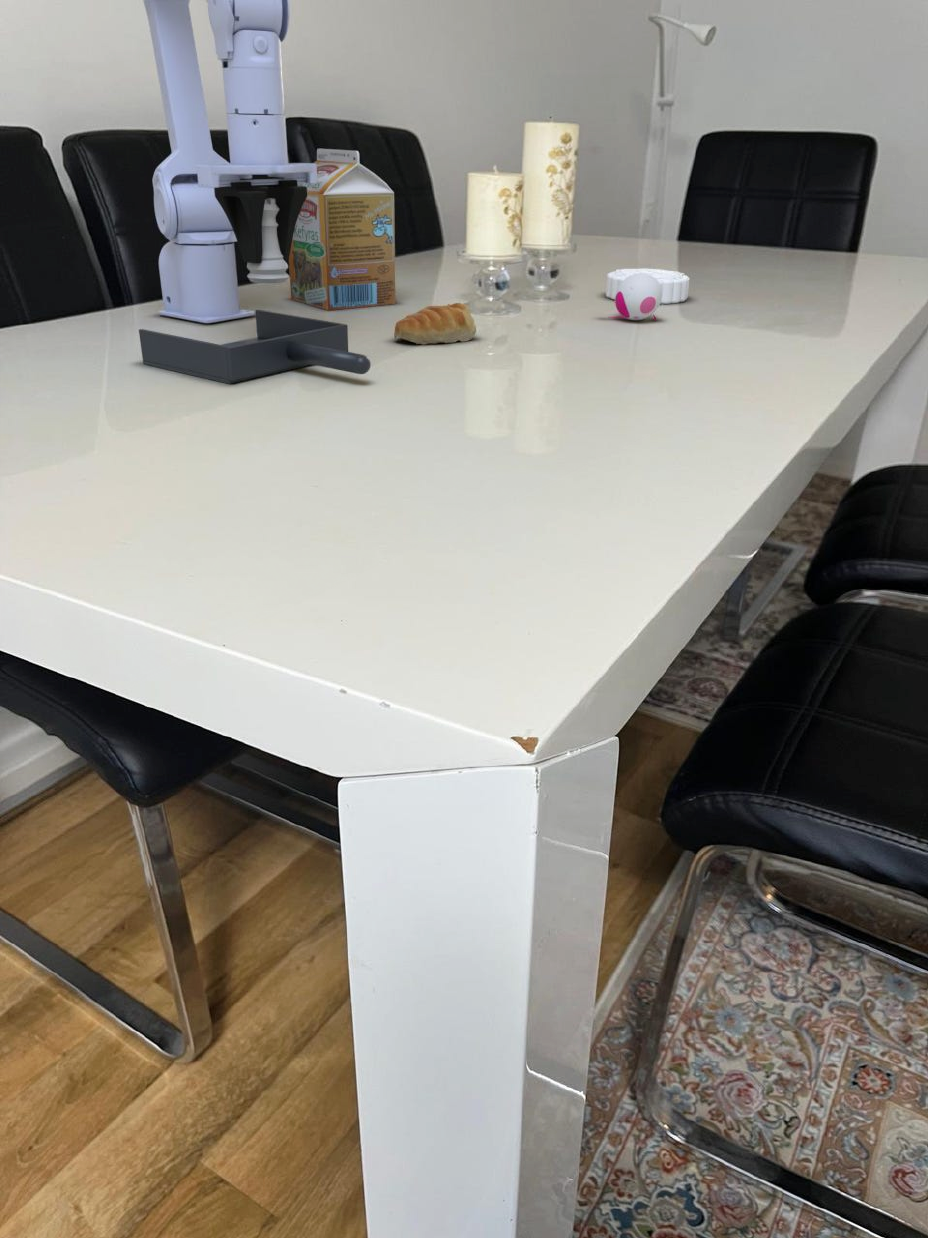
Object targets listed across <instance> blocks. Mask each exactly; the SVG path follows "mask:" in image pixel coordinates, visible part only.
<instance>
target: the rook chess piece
mask: <svg viewBox="0 0 928 1238" xmlns="http://www.w3.org/2000/svg"><path fill="white" fill-rule="evenodd" d="M278 211H279V208H278V206H277V205H276V203H275V199H272V198H267V200H265V204H264V210H263V218H262V262H261V263H257V264H255V263H248V262H246V263H247V264H246V268H247V270H248V271H249V273H248V274H247V275H246V277H247V278H248V280H249V281H250V282H251V283H255V284H282V283H285V282H288V280H289V279H290V274H288V273H287V270H288V269H289V264H288V262H286V260H283V255H282V254H281V251H280V248H279V243H278V238H277V226H278V224H277V223H276V215H277V213H278Z"/></svg>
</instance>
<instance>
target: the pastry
mask: <svg viewBox="0 0 928 1238" xmlns="http://www.w3.org/2000/svg"><path fill="white" fill-rule="evenodd" d="M476 333H477V326H476V323H475V319H474V318H473V316H472V315H471V310H470V308H469V307H468V306H467V305H465V304H464V303H461V302H455V303H452V304H450V303H448V304H447V305H429V306H427V307H424V308H421V309H420V310H417V312H415V313H412V314H408V315H406V316H405V317H404V318H402V319H401V320H398V321H397V322H396V323H395V325H394V333H393V336H394V338H395V339H396V338H399V339H403V340H405V341H408V342H411V343H415V344H416V345H417V346H418V344H420V345H422V346H423V345H424V346H425V345H427V344H439V343H445V344H449V343H456V342H458V341H460V342H468V341H470V340H472V339H474V336H475V335H476Z"/></svg>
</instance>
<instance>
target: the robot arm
mask: <svg viewBox="0 0 928 1238" xmlns="http://www.w3.org/2000/svg"><path fill="white" fill-rule="evenodd" d="M142 1H143V5H144V8H145V12H146V16H147V20H148V27H149V33H150V37H151V43H152V48H153V55H154V60H155V66H156V71H157V78H158V83H159V87H160V94H161V101H162V106H163V111H164V116H165V122H166V129H167V134H168V141H169V145H170V150H171V153H170V154H169V155H168V156H167V157H166V158H165V159H164V160H163V161H161V163H159V165H158V166H157V167H156V168H155V170H154V172H153V176H152V187H153V207H154V209H153V210H154V215H155V220H156V223H157V227H158V229H159V231H160V233H161V234H162V235H163V236H164V237H165V238H166V239H167V240H168V242H166V243H165V244H163V247H162V248H161V250H160V253H159V256H158V270H159V278H160V279H159V280H160V288H161V295H162V302H163V303H162V304H163V309H161V310H158V315H160V316H165V317H171V318H176V319H182V320H186V321H191V322H198V323H201V324H212V323H219V322H225V321H230V320H236V319H241V318H246V317H254V316H256V313H255V310H249V309H248V310H247V309H243V308H241V307H240V297H239V286H238V274H237V261H236V251H235V250H236V249H235V242H237V245H238V248H239V252H240V255H241V258H242V261H243V263H255V264H257V263H261V262H262V218H263V210H264V204H265V200H267V198H272V199H275V203H276V205H277V206H278V208H279V211H278V213H277V215H276V223H277V224H278V226H277V238H278V243H279V248H280V251H281V254H282V255H283V260H284V261H289V256H290V250H291V244H292V239H293V234H294V229H295V225H296V222H297V219H298V216H299V213H300V210H301V208H302V206H303V204H304V202H305V200H306V198H307V187H305V186H298V185H297V184H298V183H309V184H313V183H317V164H313V163H314V162H311V163H310V162H289V158H288V140H287V125H286V108H285V92H284V74H283V59H282V58H283V57H282V42H284V40H286V37H287V34H288V31H289V25H290V0H205V2H206V3H207V14H208V19H209V20H208V21H209V23H210V29H211V31H212V33H213V38H214V45H215V54H216V57H217V60H219V61H221V68H222V69H221V70H222V80H223V91H224V93H223V94H224V104H225V113H226V126H227V127H226V128H227V138H228V139H227V140H228V150H229V151H228V153H229V161H230V162H229V161H227V159H225V158H223V156H220V155H219V154H218V153H217V152H216V151H215V150H214V148H213V143H212V138H211V131H210V125H209V118H208V113H207V107H206V100H205V95H204V90H203V89H204V88H203V83H202V77H201V71H200V64H199V60H198V54H197V48H196V41H195V35H194V29H193V23H192V18H191V11H190V2H191V0H142ZM253 175H254V176H255V175H260V176H261V175H263V176H264V175H266V176H267V177H268V178H265V179H264V178H261V179H259V178H258V179H253ZM253 186H260V187H257V188H255V187H253ZM261 186H264V187H261Z"/></svg>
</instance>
